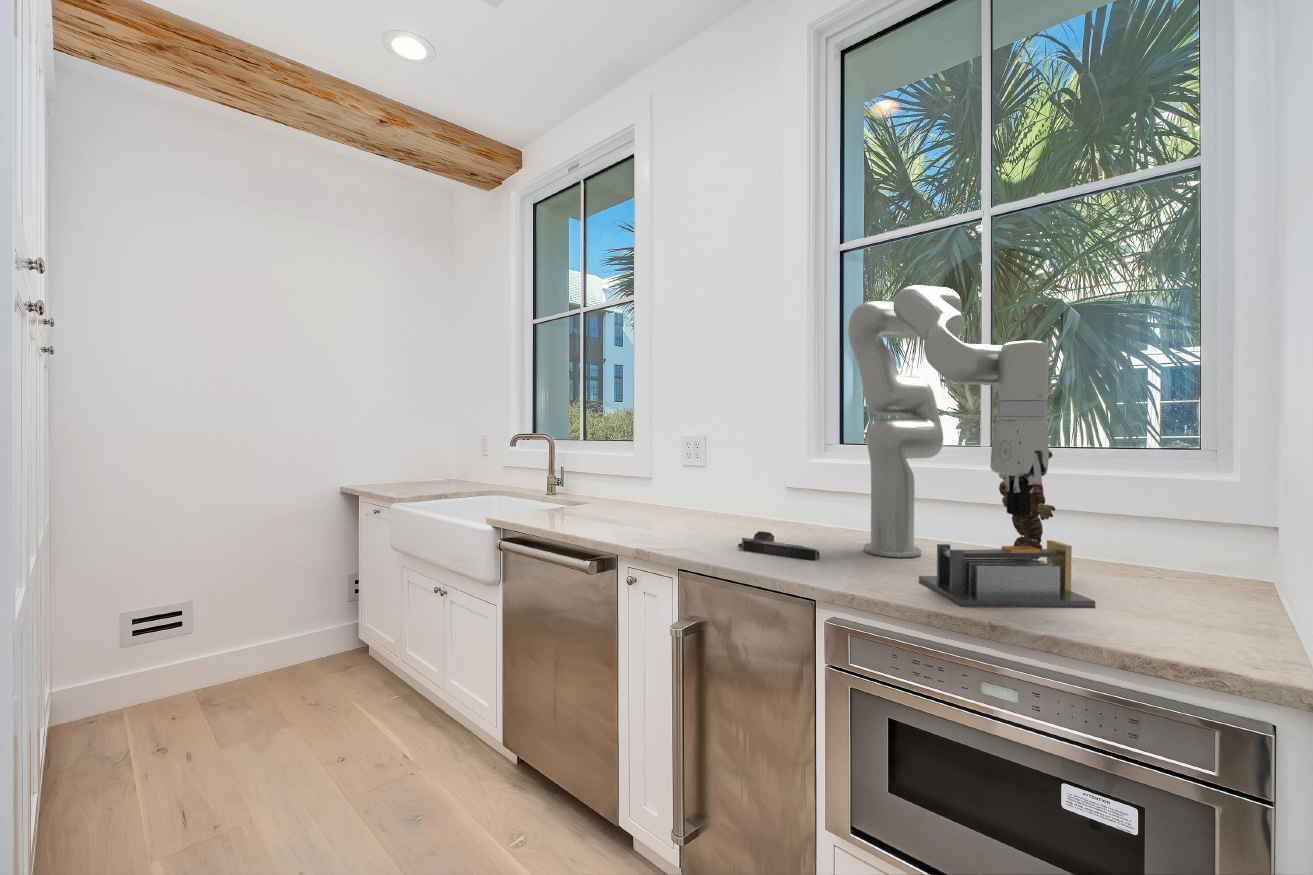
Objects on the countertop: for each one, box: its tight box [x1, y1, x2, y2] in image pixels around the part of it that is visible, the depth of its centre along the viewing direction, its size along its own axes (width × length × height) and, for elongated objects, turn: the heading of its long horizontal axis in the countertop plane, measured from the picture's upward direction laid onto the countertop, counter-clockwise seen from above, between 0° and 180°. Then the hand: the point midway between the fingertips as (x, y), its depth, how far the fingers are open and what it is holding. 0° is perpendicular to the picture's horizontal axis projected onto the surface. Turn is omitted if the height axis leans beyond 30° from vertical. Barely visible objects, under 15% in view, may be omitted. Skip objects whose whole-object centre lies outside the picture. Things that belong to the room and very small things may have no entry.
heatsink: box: [918, 539, 1096, 608], centre depth 105 cm, size 22×16×9 cm
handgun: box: [737, 530, 820, 562], centre depth 142 cm, size 3×21×12 cm
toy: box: [998, 450, 1056, 560], centre depth 121 cm, size 20×7×30 cm, turn 168°
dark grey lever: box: [941, 545, 1057, 558], centre depth 105 cm, size 19×4×2 cm, turn 90°
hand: (1018, 514), depth 106 cm, fingers closed
